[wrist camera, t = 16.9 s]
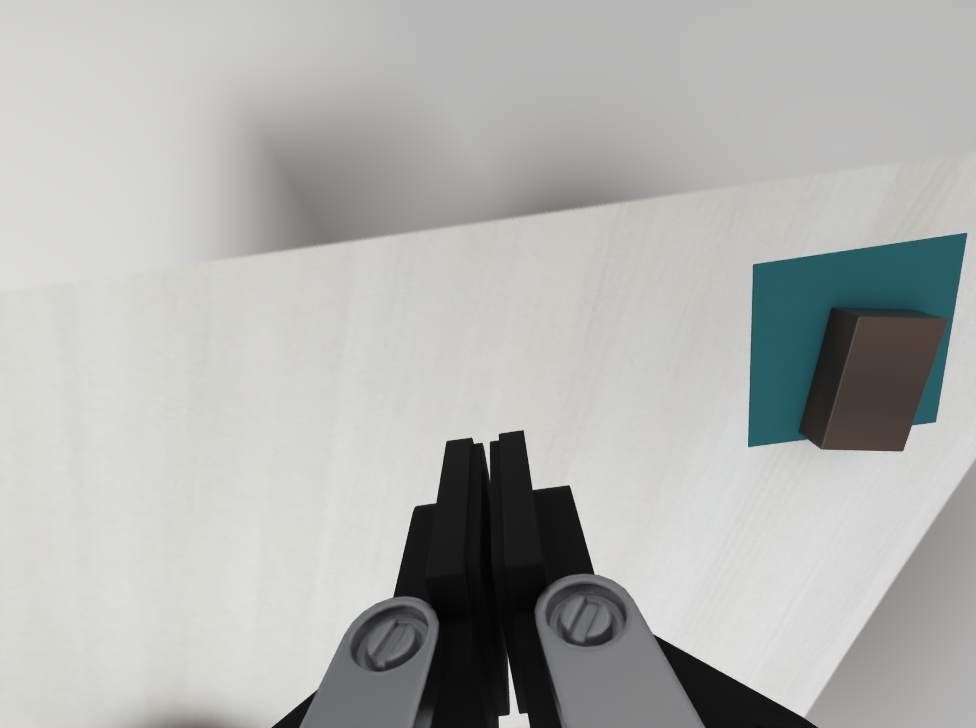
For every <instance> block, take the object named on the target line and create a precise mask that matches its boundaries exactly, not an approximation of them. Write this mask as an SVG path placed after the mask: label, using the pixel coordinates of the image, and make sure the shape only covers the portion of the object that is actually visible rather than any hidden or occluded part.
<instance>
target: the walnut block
mask: <svg viewBox="0 0 976 728" xmlns="http://www.w3.org/2000/svg"><path fill="white" fill-rule="evenodd" d="M948 320H949V319H947V318H944V317H940V316H936V315H932V314H929V313H925V312H921V311H917V310H903V309H870V308H837V307H833V308H831V312H830V316H829V319H828V323H827V327H826V331H825V335H824V338H823V342H822V346H821V350H820V353H819V357H818V361H817V365H816V368H815V372H814V376H813V380H812V384H811V387H810V391H809V395H808V399H807V402H806V406H805V410H804V414H803V417H802V421H801V425H800V429H799V433H800V434H802V435H803V436H804V437H805V438H807V439H808V440H809V441H811V442H812V443H813V444H815V445H816V446H817V447H819V448H820V449H826V450H866V451H903V450H904V447H905V444H906V441H907V438H908V435H909V432H910V430H911V427H912V424H913V421H914V418H915V415H916V412H917V409H918V407H919V404H920V401H921V398H922V395H923V392H924V389H925V386H926V384H927V381H928V378H929V375H930V372H931V369H932V366H933V363H934V360H935V358H936V355H937V352H938V349H939V346H940V343H941V340H942V337H943V335H944V332H945V329H946V326H947V323H948Z"/></svg>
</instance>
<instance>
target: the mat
mask: <svg viewBox="0 0 976 728" xmlns="http://www.w3.org/2000/svg"><path fill="white" fill-rule="evenodd" d="M966 238H967V233H964V234H957V235H950V236H943V237H937V238H930V239H923V240H916V241H910V242H903V243H896V244H889V245H883V246H876V247H869V248H862V249H856V250H849V251H842V252H835V253H829V254H822V255H815V256H808V257H802V258H795V259H788V260H781V261H775V262H768V263H761V264H754V265H753V294H752V330H751V366H750V401H749V437H748V447H753V446H760V445H768V444H775V443H783V442H790V441H798V440H805V439H807V438H805V437H804V436H803V435H802V434H800V433H799V429H800V425H801V421H802V417H803V414H804V410H805V406H806V402H807V399H808V395H809V391H810V387H811V384H812V380H813V376H814V372H815V368H816V365H817V361H818V357H819V353H820V350H821V346H822V342H823V338H824V335H825V331H826V327H827V323H828V319H829V316H830V312H831V308H833V307H837V308H870V309H903V310H917V311H921V312H925V313H929V314H932V315H936V316H940V317H944V318H947V319H949V320H948V323H947V326H946V329H945V332H944V335H943V337H942V340H941V343H940V346H939V349H938V352H937V355H936V358H935V360H934V363H933V366H932V369H931V372H930V375H929V378H928V381H927V384H926V386H925V389H924V392H923V395H922V398H921V401H920V404H919V407H918V409H917V412H916V415H915V418H914V421H913V424H912V425H918V424H926V423H934V422H936V418H937V412H938V406H939V400H940V394H941V388H942V382H943V376H944V370H945V364H946V358H947V352H948V346H949V340H950V334H951V328H952V322H953V316H954V310H955V304H956V298H957V292H958V286H959V280H960V274H961V268H962V262H963V256H964V250H965V244H966Z"/></svg>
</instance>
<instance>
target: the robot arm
mask: <svg viewBox="0 0 976 728" xmlns="http://www.w3.org/2000/svg"><path fill="white" fill-rule="evenodd" d="M507 654H508V655H507ZM508 659H509V664H510V669H511V674H512V679H513V684H514V689H515V694H516V700H517V705H518V710H519V713H520V714H523V713H528V718H529V723H530V728H818V727H816V726H815V725H813V724H812V723H810V722H809V721H807V720H806V719H805V718H803V717H801V716H799V715H798V714H796V713H794V712H792V711H790V710H789V709H787V708H785V707H783V706H781V705H780V704H778V703H776V702H774V701H772V700H771V699H769V698H767V697H765V696H763V695H762V694H760V693H758V692H756V691H754V690H753V689H751V688H749V687H747V686H745V685H744V684H742V683H740V682H738V681H736V680H735V679H733V678H731V677H729V676H727V675H726V674H724V673H722V672H720V671H718V670H717V669H715V668H713V667H711V666H709V665H708V664H706V663H704V662H702V661H700V660H699V659H697V658H695V657H693V656H691V655H690V654H688V653H686V652H684V651H682V650H681V649H679V648H677V647H675V646H673V645H672V644H670V643H668V642H666V641H664V640H663V639H661V638H659V637H657V636H655V635H654V634H652V632H651V630H650V628H649V627H648V625H647V623H646V621H645V619H644V618H643V616H642V614H641V612H640V611H639V609H638V607H637V605H636V603H635V602H634V600H633V598H632V597H631V596H630V595H629V593H628V592H627V591H626V590H625V588H623V587H622V586H620V585H619V584H617V583H616V582H614V581H613V580H611V579H608V578H605V577H602V576H600V575H595V574H594V570H593V567H592V563H591V560H590V556H589V553H588V549H587V545H586V542H585V538H584V535H583V531H582V527H581V524H580V520H579V517H578V513H577V510H576V506H575V502H574V499H573V495H572V492H571V488H570V486H569V485H567V486H560V487H553V488H545V489H538V490H532V483H531V477H530V470H529V463H528V457H527V450H526V443H525V437H524V430H522V431H515V432H508V433H501V434H499V441H491V442H490V479H489V473H488V468H487V462H486V457H485V451H484V446H483V443H477V444H474V442H473V439H472V438H466V439H459V440H452V441H447V442H446V447H445V454H444V460H443V466H442V472H441V478H440V484H439V490H438V497H437V503H435V504H428V505H421V506H416V507H415V508H414V511H413V514H412V519H411V523H410V527H409V532H408V536H407V540H406V545H405V549H404V553H403V558H402V562H401V566H400V571H399V575H398V579H397V584H396V588H395V592H394V597H393V598H390V599H387V600H384V601H382V602H379V603H377V604H375V605H373V606H372V607H370V608H369V609H367V610H365V611H364V612H363V613H362V614H361V615H360V616H359V617H357V618H356V619H355V620H354V621H353V622H352V624H351V625H350V627H349V628H348V630H347V631H346V633H345V634H344V636H343V638H342V641H341V643H340V645H339V647H338V649H337V651H336V653H335V655H334V657H333V659H332V661H331V663H330V665H329V667H328V670H327V672H326V674H325V676H324V678H323V680H322V682H321V684H320V686H319V688H318V690H316V691H315V692H314V693H313V694H312V695H310V696H309V697H308V698H307V699H306V700H304V701H303V702H302V703H301V704H300V705H298V706H297V707H296V708H295V709H294V710H292V711H291V712H290V713H289V714H288V715H286V716H285V717H284V718H283V719H282V720H280V721H279V722H278V723H277V724H276V725H274V726H273V727H272V728H499V719H498V716H505V715H509V714H510V702H509V679H508Z"/></svg>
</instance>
